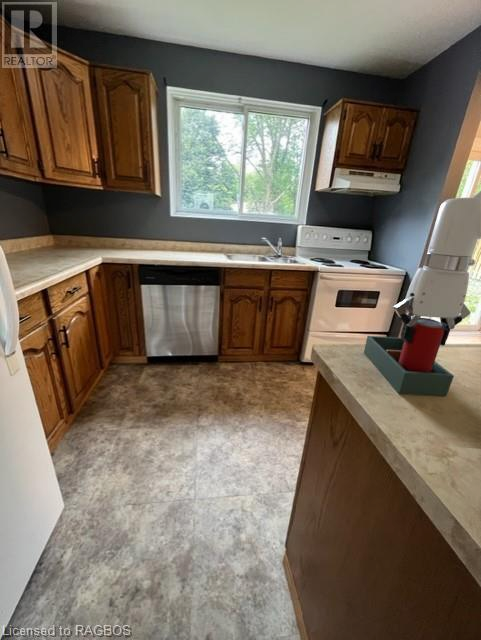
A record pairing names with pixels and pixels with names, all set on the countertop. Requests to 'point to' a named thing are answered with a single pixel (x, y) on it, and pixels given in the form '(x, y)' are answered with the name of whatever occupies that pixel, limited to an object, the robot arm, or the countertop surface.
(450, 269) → the robot arm
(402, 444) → the countertop surface
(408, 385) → the open rectangular storage bin
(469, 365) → the countertop surface
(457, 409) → the countertop surface
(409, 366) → the beverage can
